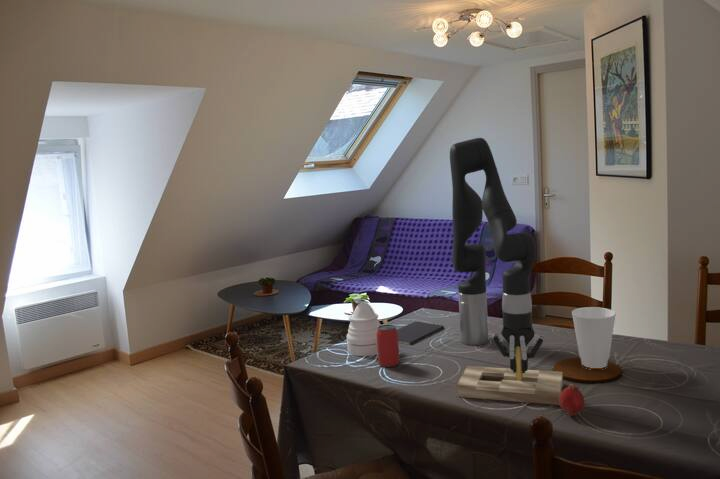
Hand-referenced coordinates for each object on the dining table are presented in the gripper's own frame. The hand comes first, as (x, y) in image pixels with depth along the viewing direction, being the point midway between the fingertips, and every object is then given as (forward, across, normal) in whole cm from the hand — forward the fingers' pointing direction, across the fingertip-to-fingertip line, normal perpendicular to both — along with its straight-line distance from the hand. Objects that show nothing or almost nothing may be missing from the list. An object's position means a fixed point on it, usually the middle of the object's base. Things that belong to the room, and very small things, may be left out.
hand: (519, 371), depth 164 cm
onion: (+6, -14, +12) cm, 19 cm away
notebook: (+6, +43, -44) cm, 62 cm away
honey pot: (+6, +54, -25) cm, 60 cm away
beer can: (+6, +42, -13) cm, 44 cm away
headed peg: (+5, 0, 0) cm, 5 cm away
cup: (+6, -18, -23) cm, 30 cm away
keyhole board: (+5, +2, 0) cm, 6 cm away
